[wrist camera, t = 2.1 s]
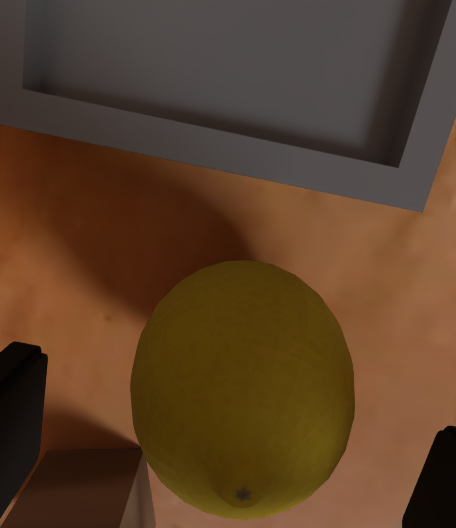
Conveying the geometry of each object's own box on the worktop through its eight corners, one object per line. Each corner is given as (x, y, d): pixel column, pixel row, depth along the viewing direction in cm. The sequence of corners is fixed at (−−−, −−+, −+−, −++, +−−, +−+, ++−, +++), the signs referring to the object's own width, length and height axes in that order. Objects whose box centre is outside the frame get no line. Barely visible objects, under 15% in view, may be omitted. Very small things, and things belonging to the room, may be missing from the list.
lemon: (310, 381, 15) (377, 622, 8) (162, 370, 16) (85, 598, 8) (331, 237, 14) (441, 365, 6) (165, 225, 14) (71, 337, 6)
